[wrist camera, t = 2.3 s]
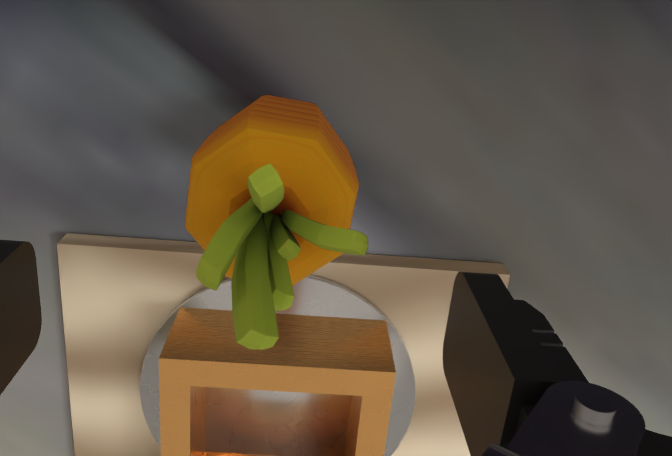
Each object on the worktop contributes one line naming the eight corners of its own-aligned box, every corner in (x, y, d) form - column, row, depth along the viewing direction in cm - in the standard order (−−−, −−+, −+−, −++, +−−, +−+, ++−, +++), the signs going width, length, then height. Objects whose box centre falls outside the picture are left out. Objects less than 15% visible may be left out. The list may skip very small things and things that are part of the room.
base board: (67, 233, 29) (56, 243, 27) (502, 263, 30) (510, 274, 28) (85, 475, 34) (78, 492, 33) (456, 493, 35) (460, 510, 34)
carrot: (267, 39, 26) (205, 119, 12) (369, 105, 27) (423, 251, 13) (208, 140, 27) (90, 318, 13) (306, 199, 28) (293, 421, 14)
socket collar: (139, 259, 28) (106, 311, 24) (431, 279, 28) (451, 333, 24) (146, 488, 33) (120, 565, 28) (396, 500, 33) (407, 578, 29)
